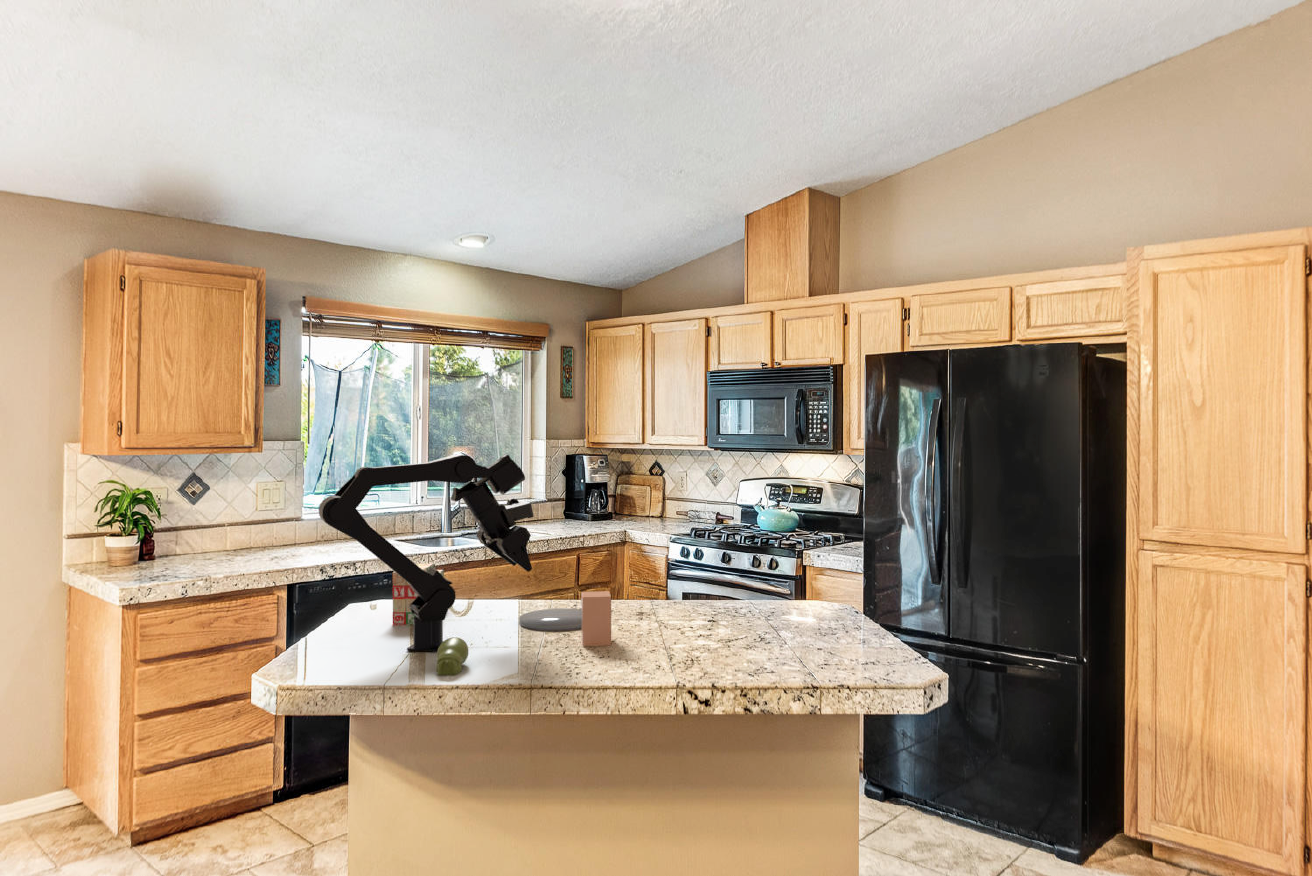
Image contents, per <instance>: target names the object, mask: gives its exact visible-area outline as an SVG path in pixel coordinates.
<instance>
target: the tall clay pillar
mask: <svg viewBox="0 0 1312 876" xmlns="http://www.w3.org/2000/svg"><path fill="white" fill-rule="evenodd" d="M580 595H581V599H580V601H581V623H582V629H581V644H582V647H596V646H597V647H602V646H605V647H606V646H612V595H611V593H610V591H609V590H606V591H604V590H603V591H601V590H600V591H581V594H580Z"/></svg>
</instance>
